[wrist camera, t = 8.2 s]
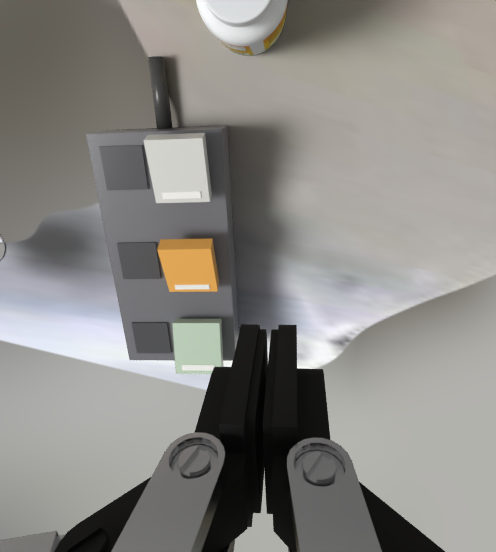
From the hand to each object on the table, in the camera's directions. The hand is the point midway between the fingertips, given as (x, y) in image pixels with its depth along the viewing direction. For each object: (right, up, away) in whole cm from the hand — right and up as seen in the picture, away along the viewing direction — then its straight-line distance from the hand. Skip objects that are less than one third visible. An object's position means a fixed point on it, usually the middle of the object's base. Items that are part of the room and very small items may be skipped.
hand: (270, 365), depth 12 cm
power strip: (-7, +8, +23) cm, 26 cm away
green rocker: (-5, -3, +22) cm, 23 cm away
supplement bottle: (-1, +22, +17) cm, 28 cm away
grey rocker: (-6, +10, +16) cm, 20 cm away
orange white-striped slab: (-5, +3, +19) cm, 20 cm away
